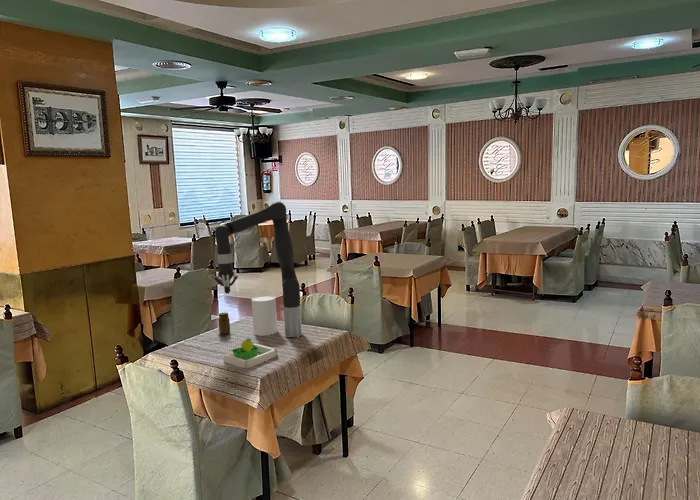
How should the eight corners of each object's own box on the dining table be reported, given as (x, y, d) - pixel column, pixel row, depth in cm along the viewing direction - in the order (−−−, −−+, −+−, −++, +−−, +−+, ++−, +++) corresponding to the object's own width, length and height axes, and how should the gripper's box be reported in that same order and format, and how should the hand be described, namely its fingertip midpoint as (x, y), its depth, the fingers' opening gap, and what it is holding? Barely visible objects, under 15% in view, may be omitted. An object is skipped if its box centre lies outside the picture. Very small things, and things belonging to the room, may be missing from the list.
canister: (249, 334, 285) (247, 300, 282) (260, 327, 298) (258, 295, 295) (271, 336, 281) (268, 301, 278) (281, 329, 294) (279, 295, 291)
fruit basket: (253, 354, 254) (252, 332, 252) (261, 359, 247) (259, 336, 245) (232, 359, 247) (230, 337, 246) (239, 364, 240) (237, 342, 238)
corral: (224, 361, 245) (223, 354, 244) (255, 349, 260) (255, 343, 259) (245, 369, 234) (245, 361, 234) (277, 356, 250) (277, 349, 249)
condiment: (227, 331, 294) (226, 311, 292) (234, 334, 287) (233, 314, 286) (216, 334, 289) (214, 313, 288) (222, 337, 283) (221, 316, 281)
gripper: (210, 263, 266) (213, 295, 269) (235, 262, 267) (238, 294, 269) (214, 261, 274) (217, 292, 276) (238, 260, 274) (241, 291, 277)
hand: (227, 293), depth 273 cm, fingers closed
